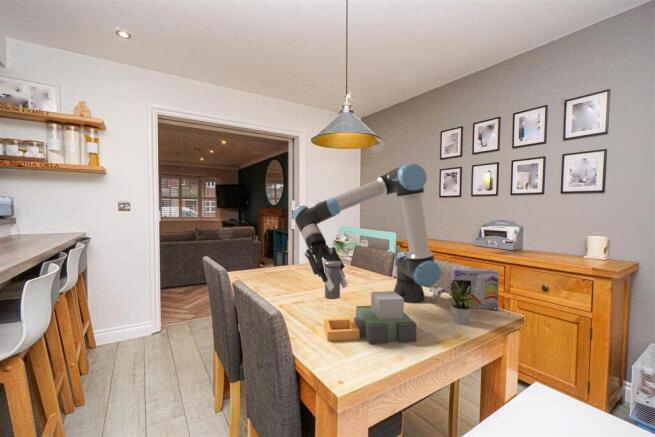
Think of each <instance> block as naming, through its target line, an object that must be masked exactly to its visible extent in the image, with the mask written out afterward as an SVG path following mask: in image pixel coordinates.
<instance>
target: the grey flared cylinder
mask: <svg viewBox="0 0 655 437" xmlns="http://www.w3.org/2000/svg"><path fill="white" fill-rule="evenodd" d="M341 261H342V260H341ZM341 261H335V260H329V261H327V260H325V261H323V266H324V273H325V272H326V271H327V273H328V275H329V277H330V279H331V281H332V283H333V285H334V288H333V289H332V290H331V291H329V289H328V287H327V285H326V283H325V282H324V298H325V299H327V300H338V299H340V298H341V283H340V266H341Z"/></svg>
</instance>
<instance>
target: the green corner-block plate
mask: <svg viewBox="0 0 655 437" xmlns="http://www.w3.org/2000/svg"><path fill="white" fill-rule="evenodd" d="M370 294H371V296H370V300H371V301H370V305H359V306H358V305H356V308H355V311H356V313H355V315H356V316H354V317H347V318H346V317H344V318H341V317H340V318H327V319H326V318H324V319H323V330H324V334H325V337H326V339H327V342H334V341H335V342H336V341H350V340H360V337H365V338H366V340H367V342H368V343H369V345H376V344H377V345H380V344H388V341H396V340H397V341H398V343H410V342H411V343H412V342H417V323H416V322H415V321H414V320H413V319H412V318H410V316H408V315H407V314H406V313H405V311H404V303H405V302H404V299H403V298H402V297H401V296H400V295H398V294H397V293H396V292H395V291H394V290H391V291H390V290H389V291H371V292H370Z"/></svg>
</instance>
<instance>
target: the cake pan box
mask: <svg viewBox="0 0 655 437" xmlns="http://www.w3.org/2000/svg"><path fill="white" fill-rule="evenodd" d="M455 282H456V283H457V285H458V286H459V288H460V289H461V288H462V287H463V288H462V292H461V299H462V296H463V294H464V293H466V291H467V289H468V288H469V286H470V288H469V293H470V292H472V291H473V290H474V289H476V290H475V291H474V292H472V293H471V294H470V295H469V296H468V295H467V296H468V297H467V298H474V299H471V300H469V301H468V303H469V302H471V301H473V302H471V303H469V304H468V305H467V306H469V307H470V308H471V309H478V310H479V309H481V310H494V311H498V310H499V271H498V270H497V269H494V268H492V269H490V268H478V267H458V266H453V267H452V280H451V283H450V284H451V285H452V286H453V288H454V290H456V284H455ZM451 285H450V288H451V289H452V287H451ZM477 288H479V289H477ZM451 289H450V291H451V294H454V293H453V292H452V290H453V289H452V290H451ZM469 293H468V294H469ZM454 296H455V295H454ZM455 297H456V296H455ZM452 301H453V302H454V303H455V301H454V299H453V298H452ZM453 302H452V304H454V303H453ZM455 304H456V303H455ZM495 308H496V309H495Z"/></svg>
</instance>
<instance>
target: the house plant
mask: <svg viewBox="0 0 655 437" xmlns="http://www.w3.org/2000/svg"><path fill="white" fill-rule="evenodd" d="M444 282H446V280H445V279H444ZM447 283H448V285H450V286H448V288H447V285H446V284H445V285H444V286H445V287H444V288H445V289H447V290H448V291H449V292H450V293H449V294H448V296H450V297H448V296H446V295H445V297H448V298H446V300H445V302H448V301H451V302H452V303H451V304H450V308H451V315H452V316H451V317H452V322H453V323H454V324H457V325H460V326H462V325H463V326H465V325H468V323H469V318H470V314H471V313H470V312H471V309H472V308H470V307H469V306H467V305H468V304H469V303H471V302H473V301H471V302H469V303H468V301H469V300H471V299H474V298H467V297H468V296H469V295H470V294H471V293H472V292H474V291H475V290H476V289H474V290H473V291H472V292H470V293H469V288H470V286H469V288H468V289H467V291H466V293H464V294H463V296H462V299H461V292H462V288H463V287H462V288H461V289H460V288H459V286H458V285H457V283H456V282H455V284H456V290H454V288H453V286H452V285H451V283H450V282H449V281H447ZM451 287H452V289H453V290H452V289H451ZM477 289H479V288H477ZM451 290H452V291H451ZM452 292H453V293H454V294H452ZM468 293H469V294H468ZM454 295H455V296H456V297H455V296H454ZM467 295H468V296H467ZM453 299H454V301H455V303H456V304H455V303H454V302H453ZM453 303H454V304H453Z"/></svg>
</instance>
